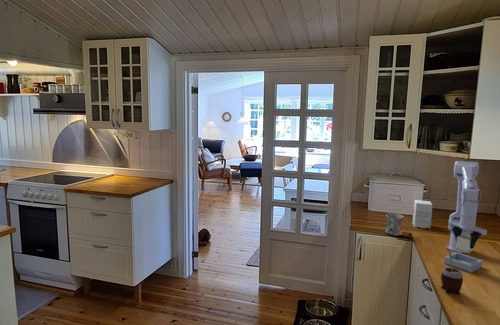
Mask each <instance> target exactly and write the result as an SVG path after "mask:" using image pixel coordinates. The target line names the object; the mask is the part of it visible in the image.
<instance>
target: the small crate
mask: <svg viewBox="0 0 500 325" xmlns="http://www.w3.org/2000/svg"><path fill="white" fill-rule="evenodd" d="M470 244H471V236H470V237H469V236H466V235H460V236H457V242H456V249H455V250H458V251H462V252H465V254H470V253H472V252H473V251H474V248H473V249H471V248H470Z"/></svg>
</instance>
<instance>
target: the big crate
mask: <svg viewBox="0 0 500 325" xmlns="http://www.w3.org/2000/svg"><path fill="white" fill-rule="evenodd" d="M449 255H450V254H448V255H446V256H444V259H443V260H444V261H443V264H444V265H447V266H450V267H451V263H450V257H449ZM451 255H452V267H453V268H454V269H457V270H461V271H465V272H466V273H470V274H472V273H474V272H476V271H477V270H479V269H481V268H483V261H484V260H483V259H479V258H476V257H473V256H470V255H467V254H464V253H460V252H457V251H455V252H453V253H451Z"/></svg>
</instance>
